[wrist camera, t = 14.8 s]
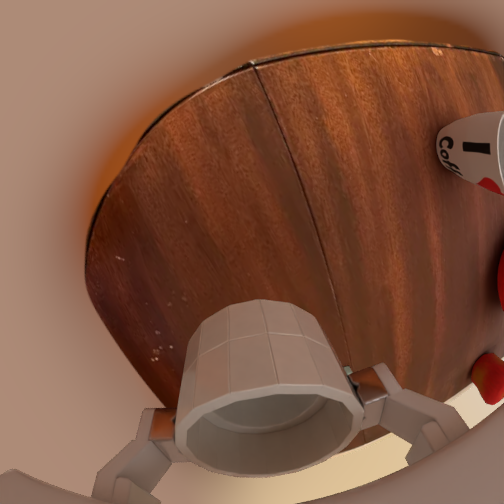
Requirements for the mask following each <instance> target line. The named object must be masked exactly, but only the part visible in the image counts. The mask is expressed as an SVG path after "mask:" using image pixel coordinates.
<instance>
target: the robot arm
mask: <svg viewBox="0 0 504 504" xmlns="http://www.w3.org/2000/svg"><path fill="white" fill-rule="evenodd" d="M347 376H348V378H349V380H350V382H351V384H352V386H353V388H354V390H355V392H356V394H357V396H358V398H359V400H360V402H361V404H362V406H363V408H364V416H363V421H362V426H361V429H360V430H363V429H366V428H369V427H372V426H374V425H377V424H379V425H381V426H382V427H384V428H385V429H387V430H389V431H390V432H392V433H394V434H395V435H397V436H399V437H400V438H402V439H404V440H405V441H407V442H409V443H411V444H412V447H411V448H410V450H409V452H408V454H407V455H406V458H405V459H406V461H407V463H408V465H409V466H407V467H405V468H403V469H401V470H399V471H396V472H394V473H392V474H390V475H387V476H385V477H383V478H380V479H378V480H375V481H372V482H370V483H367V484H365V485H362V486H359V487H356V488H353V489H350V490H347V491H344V492H341V493H337V494H334V495H330V496H327V497H323V498H319V499H315V500H311V501H306V502H302V503H297V504H504V403H503V404H502V405H501V406H500V407H498V408H497V409H496V410H495V411H494V412H492V413H491V414H490V415H489V416H487V417H486V418H485V419H483V420H482V421H481V422H480V423H478V424H477V425H476V426H474V427H473V428H471V429H469V427H468V426H467V425H466V423H465V422H464V420H463V419H462V418H461V416H460V415H459V413H458V412H457V411H456V409H455V408H454V407H452V406H449V405H447V404H444V403H441V402H439V401H436V400H434V399H431V398H428V397H426V396H423V395H421V394H418V393H416V392H413V391H411V390H408V389H403V390H402V388H401V387H400V385H399V384H398V382H397V381H396V379H395V378H394V376H393V375H392V373H391V372H390V370H389V369H388V367H387V366H386V364H385V363H380V364H377V365H374V366H372V367H368V368H365V369H362V370H360V371H357V372H354V373H351V374H348V375H347ZM176 415H177V408H146V409H144V410H143V412H142V416H141V420H140V424H139V428H138V432H137V436H136V440H132V441H131V442H130V443H129V444H128V445H127V446H125V447H124V448H123V449H122V450H121V451H120V452H119V453H118V454H117V455H116V456H115V457H114V458H113V459H112V460H111V461H109V462H108V463H107V464H106V465H105V466H104V467H103V468H102V469H101V470H100V471H99V472H97V476H96V480H95V484H94V488H93V492H92V495H91V497H87V496H84V495H81V494H77V493H74V492H71V491H68V490H65V489H62V488H59V487H57V486H54V485H51V484H49V483H46V482H43V481H41V480H38V479H36V478H34V477H32V476H29V475H27V474H25V473H23V472H21V471H19V470H17V469H10V470H8V471H6V472H5V473H3V474H1V475H0V504H161V502H160V501H159V500H158V499H157V498H155V497H154V496H152V495H151V494H150V493H151V491H152V490H153V489H154V487H155V486H156V485H157V483H158V482H159V481H160V479H161V478H162V477H163V475H164V474H165V473H166V471H167V470H168V469H169V467H170V466H171V465H172V463H171V462H190V461H189V460H187V459H186V457H185V456H184V455H183V454H182V453H181V452H180V451H179V449H178V448H177V447H176V446H175V421H176Z"/></svg>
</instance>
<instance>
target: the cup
mask: <svg viewBox="0 0 504 504" xmlns="http://www.w3.org/2000/svg"><path fill="white" fill-rule="evenodd" d="M436 148H437V154H438V157H439V159H440V161H441V163H442V164H443V165H444V166H445V167H446V168H447V169H449V170H450V171H452V172H453V173H455V174H456V175H458V176H459V177H461V178H463V179H465V180H467V181H469V182H471V183H474V184H476V185H478V186H480V187H482V188H484V189H487V190H490V191H492V192H495V193H498V194H501V195H503V196H504V111H498V112H489V113H480V114H476V115H472V116H469V117H465V118H462V119H459V120H456V121H454V122H452V123H451V124H449V125H447V126H446V127H444V128H442V129H441V130H440V132H439V133H438V136H437V141H436Z"/></svg>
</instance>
